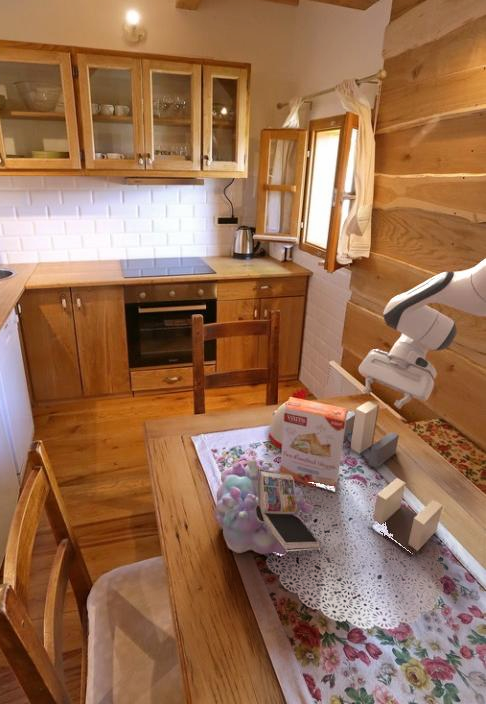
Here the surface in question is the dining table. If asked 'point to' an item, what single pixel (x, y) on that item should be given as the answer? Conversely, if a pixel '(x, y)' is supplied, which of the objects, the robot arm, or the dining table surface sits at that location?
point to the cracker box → (312, 441)
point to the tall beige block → (364, 426)
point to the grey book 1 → (349, 423)
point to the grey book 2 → (383, 449)
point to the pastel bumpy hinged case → (262, 510)
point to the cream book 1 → (389, 501)
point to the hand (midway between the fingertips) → (380, 399)
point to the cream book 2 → (425, 524)
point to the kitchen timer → (281, 420)
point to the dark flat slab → (401, 529)
